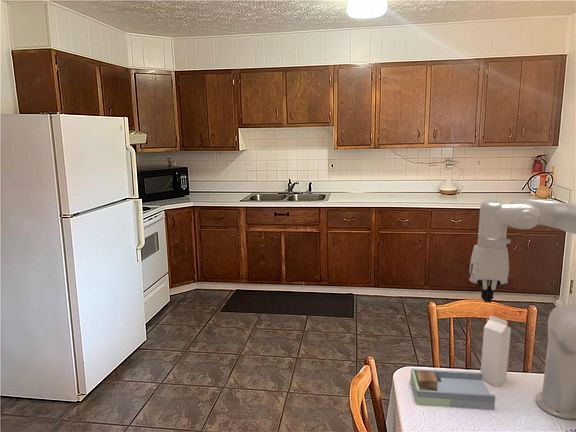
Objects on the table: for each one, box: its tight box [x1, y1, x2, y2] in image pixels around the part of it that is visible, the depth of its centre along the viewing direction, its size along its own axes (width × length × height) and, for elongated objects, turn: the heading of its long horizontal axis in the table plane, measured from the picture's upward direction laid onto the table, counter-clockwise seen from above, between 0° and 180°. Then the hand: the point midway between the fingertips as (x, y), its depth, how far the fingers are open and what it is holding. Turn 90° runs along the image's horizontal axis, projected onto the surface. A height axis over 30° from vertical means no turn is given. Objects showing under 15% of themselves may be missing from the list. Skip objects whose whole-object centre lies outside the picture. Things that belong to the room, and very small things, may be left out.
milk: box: [479, 315, 512, 388], centre depth 144 cm, size 6×6×22 cm
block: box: [416, 371, 438, 391], centre depth 138 cm, size 6×6×4 cm
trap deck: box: [410, 368, 496, 411], centre depth 138 cm, size 22×13×4 cm, turn 83°
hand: (486, 300), depth 133 cm, fingers closed
